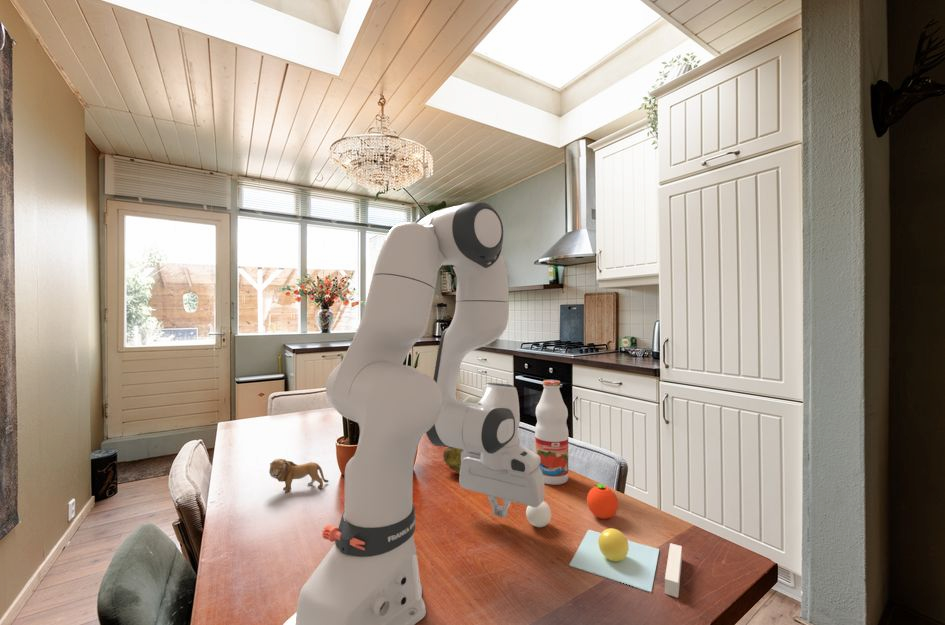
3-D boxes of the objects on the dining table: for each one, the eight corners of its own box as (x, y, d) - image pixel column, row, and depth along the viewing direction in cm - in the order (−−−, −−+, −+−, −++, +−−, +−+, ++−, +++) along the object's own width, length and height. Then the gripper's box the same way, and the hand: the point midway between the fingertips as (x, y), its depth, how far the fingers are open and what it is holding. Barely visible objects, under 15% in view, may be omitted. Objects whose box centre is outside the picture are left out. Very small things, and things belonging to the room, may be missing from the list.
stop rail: (678, 598, 65) (678, 582, 65) (664, 593, 66) (664, 578, 66) (681, 559, 75) (681, 546, 75) (670, 555, 76) (670, 543, 76)
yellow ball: (615, 532, 73) (589, 538, 75) (630, 564, 71) (603, 569, 74) (623, 520, 77) (598, 527, 80) (637, 550, 75) (611, 556, 78)
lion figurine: (269, 499, 99) (269, 463, 100) (268, 491, 104) (268, 457, 104) (330, 486, 107) (330, 453, 107) (326, 479, 111) (327, 448, 111)
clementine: (581, 507, 95) (581, 478, 95) (608, 506, 96) (608, 477, 96) (593, 525, 87) (593, 493, 87) (623, 524, 88) (623, 492, 88)
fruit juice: (565, 472, 117) (565, 378, 117) (571, 486, 107) (571, 384, 108) (533, 471, 117) (533, 378, 118) (536, 485, 108) (536, 383, 108)
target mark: (651, 592, 66) (651, 591, 66) (569, 565, 73) (569, 564, 73) (659, 550, 78) (659, 549, 78) (588, 530, 85) (588, 529, 85)
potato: (477, 484, 109) (477, 455, 109) (439, 474, 115) (439, 447, 115) (491, 473, 116) (491, 446, 116) (454, 465, 122) (454, 439, 122)
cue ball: (530, 491, 88) (522, 516, 85) (554, 500, 86) (546, 526, 83) (531, 501, 92) (523, 525, 88) (554, 510, 90) (547, 534, 86)
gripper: (453, 449, 91) (453, 509, 91) (536, 467, 81) (536, 534, 81) (468, 442, 97) (468, 498, 96) (547, 458, 86) (547, 521, 86)
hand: (500, 515), depth 88 cm, fingers closed
